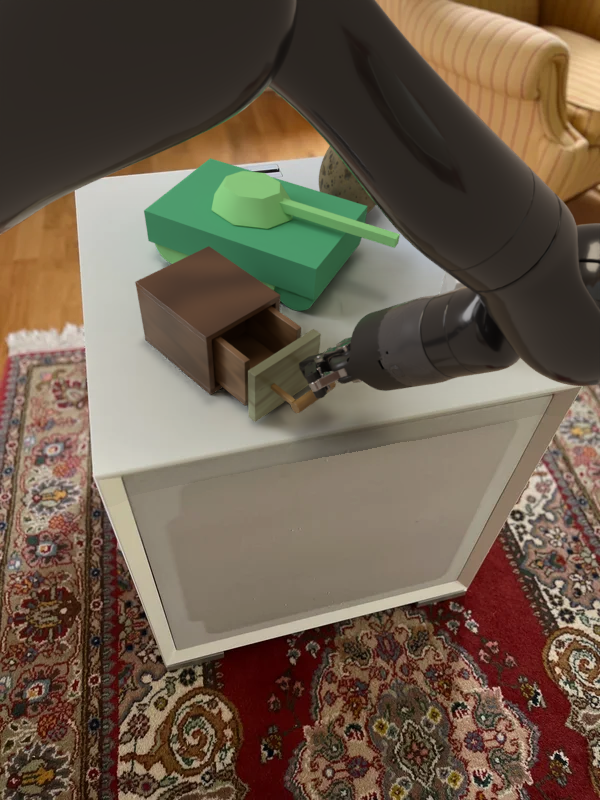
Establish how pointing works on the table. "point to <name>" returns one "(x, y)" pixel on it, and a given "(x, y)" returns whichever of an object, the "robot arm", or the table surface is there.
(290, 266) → the toy tank
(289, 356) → the drawer
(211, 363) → the cabinet
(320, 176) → the decorative egg
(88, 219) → the table surface
